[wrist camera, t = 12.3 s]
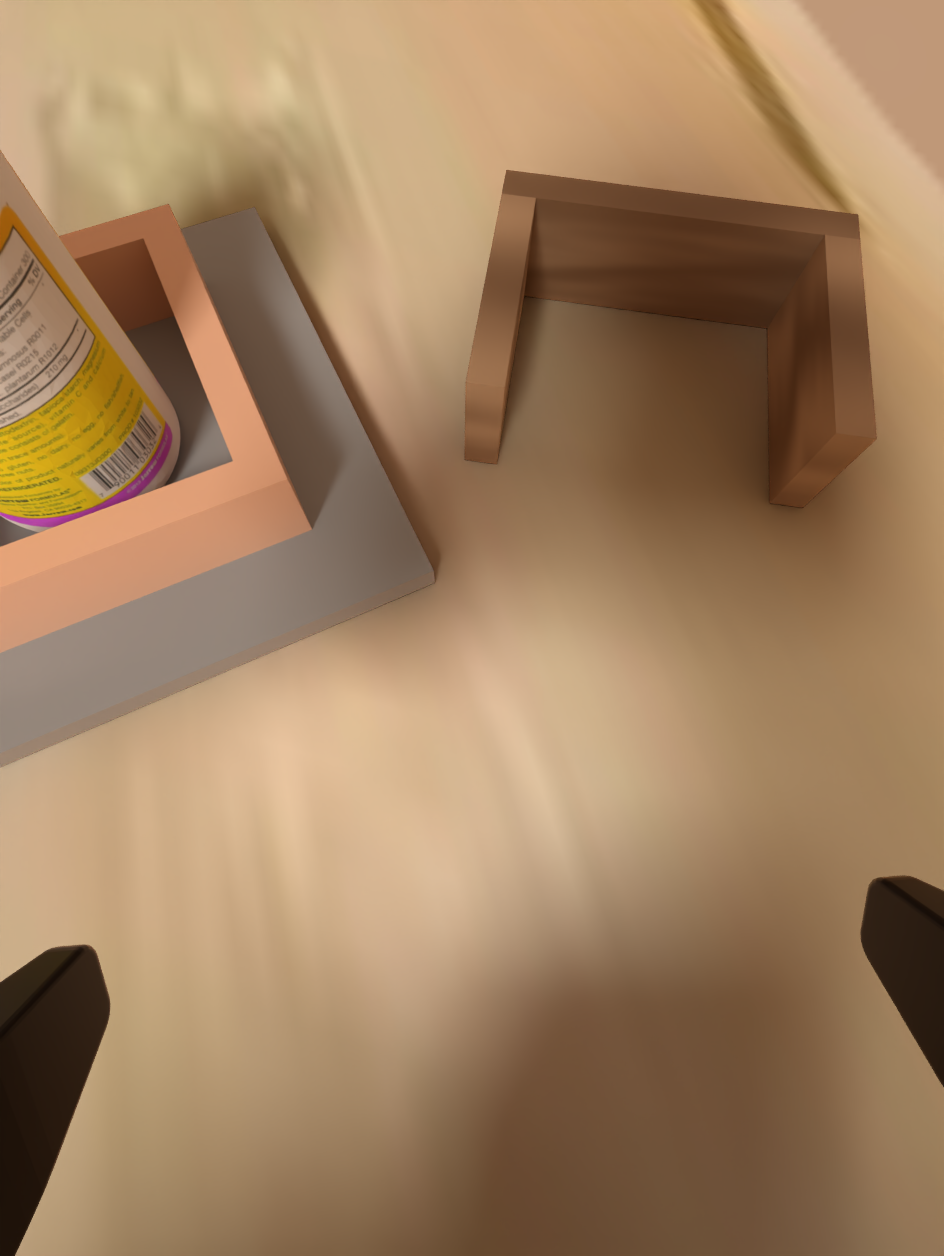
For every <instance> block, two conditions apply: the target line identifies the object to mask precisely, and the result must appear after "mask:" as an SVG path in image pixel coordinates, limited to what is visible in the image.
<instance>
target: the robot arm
mask: <svg viewBox="0 0 944 1256" xmlns="http://www.w3.org/2000/svg"><path fill="white" fill-rule="evenodd" d="M861 942H862V946H863V949H864V952H865V954H866V956H867V958H868V960H869V962H870V963H871V965H872V967H873V969H874V970H875V972H876V974H877V975H878V977H879V979H880V980H881V982H882V984H883V986H884V987H885V989H886V991H887V992H888V994H889V996H890V997H891V999H892V1001H893V1003H894V1004H895V1006H896V1008H897V1009H898V1011H899V1013H900V1015H901V1016H902V1018H903V1020H904V1021H905V1023H906V1025H907V1026H908V1028H909V1030H910V1032H911V1033H912V1035H913V1037H914V1038H915V1040H916V1042H917V1043H918V1045H919V1047H920V1049H921V1050H922V1052H923V1054H924V1055H925V1057H926V1059H927V1060H928V1062H929V1064H930V1066H931V1067H932V1069H933V1071H934V1072H935V1074H936V1076H937V1077H938V1079H939V1081H940V1082H941V1084H942V1085H943V1087H944V891H943V890H941V889H938V888H936V887H934V886H932V885H930V884H928V883H925V882H923V881H921V880H919V879H917V878H914V877H911V876H891V877H879V878H876V879H874V880H873V881H872V882H871V883H870V884H869V887H868V891H867V897H866V903H865V909H864V914H863V920H862V926H861ZM109 1015H110V998H109V994H108V991H107V987H106V984H105V980H104V977H103V973H102V970H101V966H100V963H99V959H98V956H97V953H96V951H95V950H94V949H93V948H92V947H91V946H89V945H72V946H60V947H55V948H51V949H49V950H47V951H45V952H43V953H42V954H40V955H39V956H38V957H36V958H35V959H33V960H32V961H30V962H29V963H28V964H26V965H25V966H23V967H22V968H20V969H19V970H17V971H16V972H15V973H13V974H12V975H10V976H9V977H7V978H6V979H4V980H3V981H2V982H0V1256H15V1254H16V1252H17V1250H18V1248H19V1246H20V1244H21V1241H22V1239H23V1237H24V1235H25V1233H26V1231H27V1229H28V1226H29V1224H30V1222H31V1220H32V1218H33V1215H34V1213H35V1211H36V1209H37V1206H38V1204H39V1202H40V1200H41V1197H42V1195H43V1193H44V1191H45V1188H46V1186H47V1183H48V1181H49V1178H50V1176H51V1173H52V1171H53V1168H54V1166H55V1163H56V1160H57V1158H58V1155H59V1152H60V1150H61V1147H62V1144H63V1142H64V1139H65V1136H66V1134H67V1131H68V1128H69V1126H70V1123H71V1120H72V1118H73V1115H74V1112H75V1110H76V1107H77V1104H78V1102H79V1099H80V1096H81V1094H82V1091H83V1088H84V1086H85V1083H86V1080H87V1078H88V1075H89V1072H90V1070H91V1067H92V1064H93V1062H94V1059H95V1056H96V1054H97V1051H98V1048H99V1046H100V1043H101V1040H102V1038H103V1035H104V1032H105V1030H106V1027H107V1024H108V1020H109Z"/></svg>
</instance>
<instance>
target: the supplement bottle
mask: <svg viewBox="0 0 944 1256" xmlns="http://www.w3.org/2000/svg"><path fill="white" fill-rule="evenodd" d="M179 448H180V426H179V421H178V417H177V414H176V412H175V409H174V407H173V405H172V403H171V401H170V400H169V398H168V396H167V395H166V393H165V392H164V390H163V389H162V387H161V386H160V384H159V383H158V381H157V379H156V378H155V376H154V375H153V373H152V372H151V370H150V369H149V367H148V366H147V364H146V363H145V361H144V360H143V359H142V357H141V356H140V354H139V353H138V351H137V350H136V348H135V347H134V345H133V344H132V343H131V341H130V340H129V338H128V337H127V335H126V334H125V332H124V331H123V330H122V328H121V327H120V325H119V324H118V322H117V321H116V320H115V318H114V317H113V315H112V314H111V312H110V311H109V309H108V308H107V306H106V305H105V304H104V302H103V301H102V299H101V298H100V296H99V295H98V293H97V292H96V290H95V289H94V287H93V286H92V285H91V283H90V282H89V280H88V279H87V277H86V276H85V274H84V273H83V271H82V270H81V268H80V267H79V265H78V264H77V263H76V261H75V260H74V258H73V257H72V255H71V254H70V252H69V251H68V249H67V248H66V247H65V245H64V244H63V242H62V241H61V239H60V238H59V236H58V235H57V233H56V232H55V230H54V229H53V227H52V226H51V225H50V223H49V222H48V220H47V219H46V217H45V216H44V214H43V213H42V211H41V210H40V208H39V207H38V205H37V204H36V203H35V201H34V200H33V198H32V197H31V195H30V194H29V192H28V191H27V189H26V188H25V186H24V185H23V183H22V182H21V180H20V179H19V177H18V176H17V174H16V173H15V171H14V170H13V168H12V167H11V165H10V164H9V162H8V161H7V159H6V158H5V156H4V155H3V154H2V152H1V151H0V516H2V517H3V518H5V519H6V520H8V521H10V522H12V523H14V524H16V525H18V526H21V527H23V528H26V529H29V530H32V531H36V532H42V531H45V530H47V529H50V528H53V527H56V526H58V525H61V524H64V523H66V522H69V521H72V520H75V519H77V518H80V517H83V516H85V515H88V514H91V513H94V512H96V511H99V510H102V509H104V508H107V507H110V506H113V505H115V504H118V503H121V502H123V501H126V500H129V499H132V498H134V497H137V496H140V495H142V494H145V493H148V492H151V491H153V490H156V489H159V488H161V487H164V485H165V484H166V482H167V481H168V479H169V477H170V475H171V474H172V472H173V469H174V467H175V464H176V462H177V459H178V454H179Z"/></svg>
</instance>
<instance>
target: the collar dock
mask: <svg viewBox="0 0 944 1256" xmlns="http://www.w3.org/2000/svg"><path fill="white" fill-rule="evenodd" d="M59 238H60V239H61V241H62V242H63V244H64V245H65V247H66V248H67V249H68V251H69V252H70V254H71V255H72V257H73V258H74V260H75V261H76V263H77V264H78V265H79V267H80V268H81V270H82V271H83V273H84V274H85V276H86V277H87V279H88V280H89V282H90V283H91V285H92V286H93V287H94V289H95V290H96V292H97V293H98V295H99V296H100V298H101V299H102V301H103V302H104V304H105V305H106V306H107V308H108V309H109V311H110V312H111V314H112V315H113V317H114V318H115V320H116V321H117V322H118V324H119V325H120V327H121V328H122V330H123V331H124V332H125V334H126V335H127V337H128V338H129V340H130V341H131V343H132V344H133V345H134V347H135V348H136V350H137V351H138V353H139V354H140V356H141V357H142V359H143V360H144V361H145V363H146V364H147V366H148V367H149V369H150V370H151V372H152V373H153V375H154V376H155V378H156V379H157V381H158V383H159V384H160V386H161V387H162V389H163V390H164V392H165V393H166V395H167V396H168V398H169V400H170V401H171V403H172V405H173V407H174V409H175V412H176V414H177V417H178V421H179V426H180V448H179V454H178V459H177V462H176V464H175V467H174V469H173V472H172V474H171V475H170V477H169V479H168V481H167V482H166V484H165V485H164V487H161V488H159V489H156V490H153V491H151V492H148V493H145V494H142V495H140V496H137V497H134V498H132V499H129V500H126V501H123V502H121V503H118V504H115V505H113V506H110V507H107V508H104V509H102V510H99V511H96V512H94V513H91V514H88V515H85V516H83V517H80V518H77V519H75V520H72V521H69V522H66V523H64V524H61V525H58V526H56V527H53V528H50V529H47V530H45V531H42V532H36V531H32V530H29V529H26V528H23V527H21V526H18V525H16V524H14V523H12V522H10V521H8V520H6V519H5V518H3V517H2V516H0V767H2V766H5V765H7V764H9V763H12V762H14V761H16V760H19V759H21V758H23V757H26V756H28V755H30V754H33V753H35V752H38V751H40V750H42V749H45V748H47V747H49V746H52V745H54V744H56V743H59V742H61V741H63V740H66V739H68V738H71V737H73V736H75V735H78V734H80V733H82V732H85V731H87V730H89V729H92V728H94V727H96V726H99V725H101V724H103V723H106V722H108V721H111V720H113V719H115V718H118V717H120V716H122V715H125V714H127V713H129V712H132V711H134V710H136V709H139V708H141V707H144V706H146V705H148V704H151V703H153V702H155V701H158V700H160V699H162V698H165V697H167V696H169V695H172V694H174V693H176V692H179V691H181V690H184V689H186V688H188V687H191V686H193V685H195V684H198V683H200V682H202V681H205V680H207V679H209V678H212V677H214V676H217V675H219V674H221V673H224V672H226V671H228V670H231V669H233V668H235V667H238V666H240V665H242V664H245V663H247V662H249V661H252V660H254V659H257V658H259V657H261V656H264V655H266V654H268V653H271V652H273V651H275V650H278V649H280V648H282V647H285V646H287V645H290V644H292V643H294V642H297V641H299V640H301V639H304V638H306V637H308V636H311V635H313V634H315V633H318V632H320V631H323V630H325V629H327V628H330V627H332V626H334V625H337V624H339V623H341V622H344V621H346V620H348V619H351V618H353V617H355V616H358V615H360V614H363V613H365V612H367V611H370V610H372V609H374V608H377V607H379V606H381V605H384V604H386V603H388V602H391V601H393V600H396V599H398V598H400V597H403V596H405V595H407V594H410V593H412V592H414V591H417V590H419V589H421V588H424V587H426V586H428V585H431V584H433V583H435V578H434V570H433V568H432V566H431V564H430V562H429V560H428V558H427V556H426V554H425V552H424V550H423V548H422V546H421V544H420V542H419V540H418V538H417V536H416V534H415V531H414V529H413V527H412V525H411V523H410V521H409V519H408V517H407V515H406V513H405V511H404V509H403V507H402V505H401V503H400V501H399V499H398V497H397V495H396V493H395V491H394V489H393V487H392V485H391V483H390V481H389V479H388V477H387V475H386V473H385V471H384V469H383V467H382V465H381V462H380V460H379V458H378V456H377V454H376V452H375V450H374V448H373V446H372V444H371V442H370V440H369V438H368V436H367V434H366V432H365V430H364V428H363V426H362V424H361V422H360V420H359V418H358V416H357V414H356V412H355V410H354V408H353V406H352V404H351V402H350V400H349V398H348V396H347V394H346V391H345V389H344V387H343V385H342V383H341V381H340V379H339V377H338V375H337V373H336V371H335V369H334V367H333V365H332V363H331V361H330V359H329V357H328V355H327V353H326V351H325V349H324V347H323V345H322V343H321V341H320V339H319V337H318V335H317V333H316V331H315V329H314V327H313V325H312V322H311V320H310V318H309V316H308V314H307V312H306V310H305V308H304V306H303V304H302V302H301V300H300V298H299V296H298V294H297V292H296V290H295V288H294V286H293V284H292V282H291V280H290V278H289V276H288V274H287V272H286V270H285V268H284V266H283V264H282V262H281V260H280V258H279V256H278V254H277V251H276V249H275V247H274V245H273V243H272V241H271V239H270V237H269V235H268V233H267V231H266V229H265V227H264V225H263V223H262V221H261V219H260V217H259V215H258V213H257V211H256V209H255V207H253V208H250V209H247V210H243V211H240V212H237V213H233V214H230V215H227V216H223V217H220V218H217V219H213V220H210V221H207V222H203V223H200V224H197V225H193V226H190V227H187V228H183V229H180V227H179V225H178V223H177V221H176V219H175V217H174V214H173V212H172V210H171V208H170V206H169V204H167V205H164V206H160V207H157V208H154V209H150V210H147V211H143V212H140V213H136V214H133V215H130V216H126V217H123V218H119V219H116V220H113V221H109V222H106V223H102V224H99V225H96V226H92V227H89V228H85V229H82V230H79V231H75V232H72V233H68V234H65V235H62V236H59Z"/></svg>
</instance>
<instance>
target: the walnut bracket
mask: <svg viewBox="0 0 944 1256" xmlns="http://www.w3.org/2000/svg"><path fill="white" fill-rule="evenodd" d="M524 296H528V297H535V298H543V299H550V300H558V301H565V302H573V303H580V304H588V305H595V306H603V307H610V308H618V309H625V310H633V311H640V312H648V313H655V314H663V315H670V316H678V317H685V318H693V319H700V320H708V321H715V322H723V323H730V324H738V325H745V326H753V327H760V328H767V337H768V416H769V494H770V503H773V504H780V505H787V506H794V507H801V508H803V507H804V506H805V505H806V504H807V503H808V502H810V501H811V500H812V499H813V498H814V497H815V496H816V495H817V494H818V493H819V492H820V491H821V490H822V489H823V488H825V487H826V486H827V485H828V484H829V483H830V482H831V481H832V480H833V479H834V478H835V477H836V476H837V475H838V474H840V473H841V472H842V471H843V470H844V469H845V468H846V467H847V466H848V465H849V464H850V463H851V462H852V461H853V460H855V459H856V458H857V457H858V456H859V455H860V454H861V453H862V452H863V451H864V450H865V449H866V448H867V447H868V446H870V445H871V444H872V443H873V442H874V441H875V440H876V439H877V436H876V424H875V412H874V400H873V388H872V376H871V364H870V352H869V339H868V327H867V315H866V303H865V291H864V279H863V267H862V255H861V243H860V231H859V219H858V215H857V214H850V213H842V212H834V211H826V210H818V209H810V208H802V207H794V206H787V205H779V204H771V203H763V202H755V201H747V200H739V199H731V198H724V197H716V196H708V195H700V194H692V193H684V192H676V191H668V190H660V189H653V188H645V187H637V186H629V185H621V184H613V183H605V182H597V181H590V180H582V179H574V178H566V177H558V176H550V175H542V174H534V173H526V172H519V171H511V170H506V175H505V180H504V185H503V190H502V196H501V201H500V206H499V211H498V216H497V222H496V227H495V232H494V237H493V242H492V248H491V253H490V258H489V263H488V268H487V274H486V279H485V284H484V289H483V295H482V300H481V305H480V310H479V315H478V321H477V326H476V331H475V336H474V341H473V347H472V352H471V357H470V362H469V367H468V373H467V378H466V397H465V460H470V461H477V462H484V463H491V464H497V460H498V454H499V448H500V442H501V436H502V430H503V423H504V417H505V411H506V405H507V399H508V393H509V386H510V380H511V374H512V368H513V362H514V355H515V349H516V343H517V337H518V331H519V325H520V318H521V312H522V306H523V300H524Z"/></svg>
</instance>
